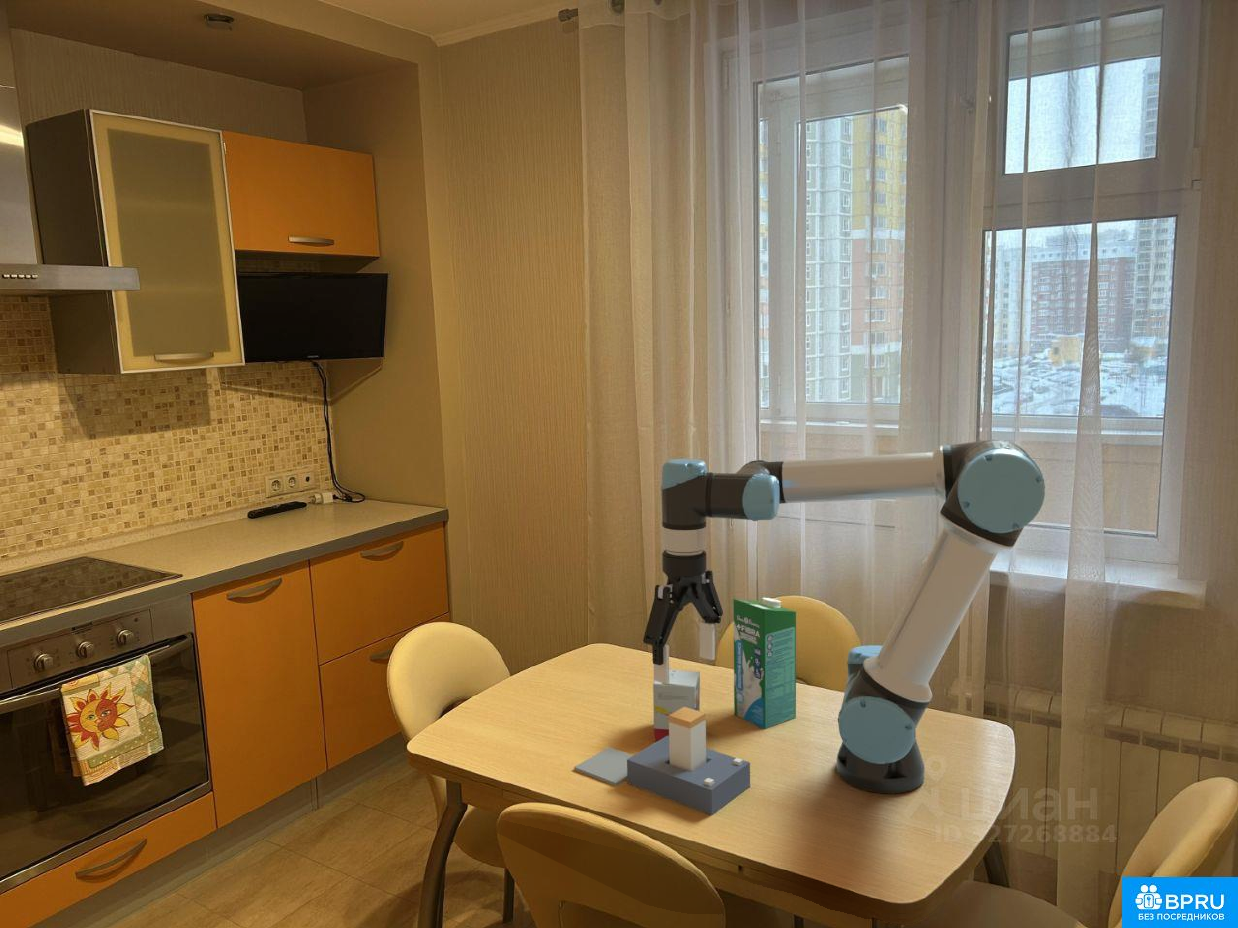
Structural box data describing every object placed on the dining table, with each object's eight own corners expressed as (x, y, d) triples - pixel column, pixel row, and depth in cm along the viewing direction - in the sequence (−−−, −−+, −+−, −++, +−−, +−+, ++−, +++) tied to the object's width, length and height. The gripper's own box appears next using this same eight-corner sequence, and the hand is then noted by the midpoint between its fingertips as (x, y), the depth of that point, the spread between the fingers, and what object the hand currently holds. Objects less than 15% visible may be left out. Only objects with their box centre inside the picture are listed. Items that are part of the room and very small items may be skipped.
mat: (650, 764, 169) (650, 761, 169) (616, 785, 162) (615, 782, 162) (609, 749, 176) (609, 746, 176) (574, 769, 168) (574, 766, 168)
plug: (706, 783, 162) (705, 712, 160) (691, 794, 158) (690, 721, 156) (685, 776, 165) (684, 706, 163) (670, 786, 161) (668, 715, 159)
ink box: (696, 743, 177) (695, 685, 176) (652, 740, 179) (651, 683, 177) (701, 724, 186) (700, 669, 184) (659, 722, 188) (658, 667, 186)
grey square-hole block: (750, 786, 160) (749, 759, 160) (711, 815, 151) (711, 786, 150) (667, 757, 172) (667, 732, 171) (627, 783, 163) (626, 756, 162)
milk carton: (796, 717, 188) (796, 600, 184) (763, 729, 183) (763, 608, 179) (765, 703, 195) (765, 590, 192) (733, 714, 190) (732, 598, 187)
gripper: (707, 533, 167) (707, 644, 170) (620, 562, 148) (622, 686, 151) (742, 539, 162) (742, 653, 166) (657, 569, 143) (659, 697, 147)
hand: (685, 669), depth 158 cm, fingers open, 13 cm apart
